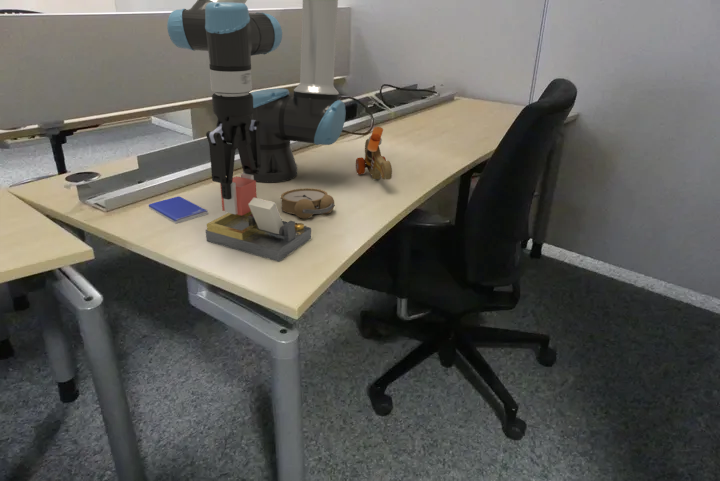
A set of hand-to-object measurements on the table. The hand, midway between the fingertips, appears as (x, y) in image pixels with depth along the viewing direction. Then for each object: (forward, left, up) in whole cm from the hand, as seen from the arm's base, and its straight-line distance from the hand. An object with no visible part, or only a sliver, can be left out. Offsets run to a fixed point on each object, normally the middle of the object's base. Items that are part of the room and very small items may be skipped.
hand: (240, 207), depth 107 cm
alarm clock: (-20, +4, -7) cm, 22 cm away
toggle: (0, +8, -3) cm, 8 cm away
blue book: (-4, -22, -7) cm, 23 cm away
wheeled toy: (-48, +9, -7) cm, 49 cm away
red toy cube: (0, 0, 0) cm, 0 cm away
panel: (-1, +4, -7) cm, 8 cm away
